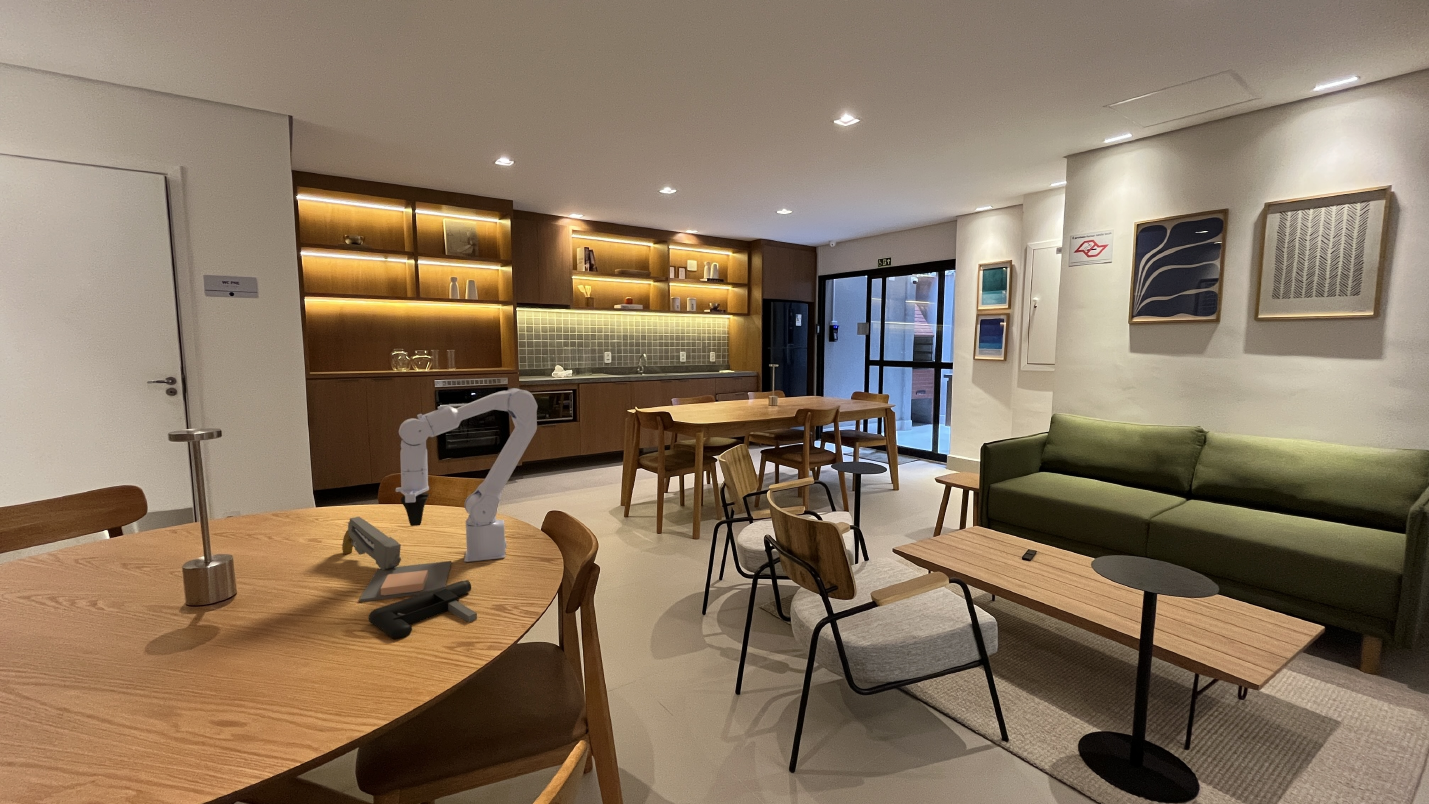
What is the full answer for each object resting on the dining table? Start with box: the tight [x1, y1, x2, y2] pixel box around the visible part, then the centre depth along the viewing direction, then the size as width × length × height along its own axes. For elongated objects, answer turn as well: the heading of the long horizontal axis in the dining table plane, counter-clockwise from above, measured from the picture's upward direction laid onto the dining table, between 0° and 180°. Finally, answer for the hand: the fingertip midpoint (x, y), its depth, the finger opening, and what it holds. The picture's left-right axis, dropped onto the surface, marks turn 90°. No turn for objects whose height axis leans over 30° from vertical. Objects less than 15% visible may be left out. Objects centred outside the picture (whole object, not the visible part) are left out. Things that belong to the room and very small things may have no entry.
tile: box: [381, 570, 428, 596], centre depth 128 cm, size 8×2×8 cm
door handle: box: [367, 579, 478, 640], centre depth 116 cm, size 3×20×16 cm
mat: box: [358, 560, 452, 603], centre depth 133 cm, size 16×18×1 cm
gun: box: [341, 516, 402, 570], centre depth 144 cm, size 3×25×15 cm, turn 56°
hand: (415, 525), depth 140 cm, fingers closed
